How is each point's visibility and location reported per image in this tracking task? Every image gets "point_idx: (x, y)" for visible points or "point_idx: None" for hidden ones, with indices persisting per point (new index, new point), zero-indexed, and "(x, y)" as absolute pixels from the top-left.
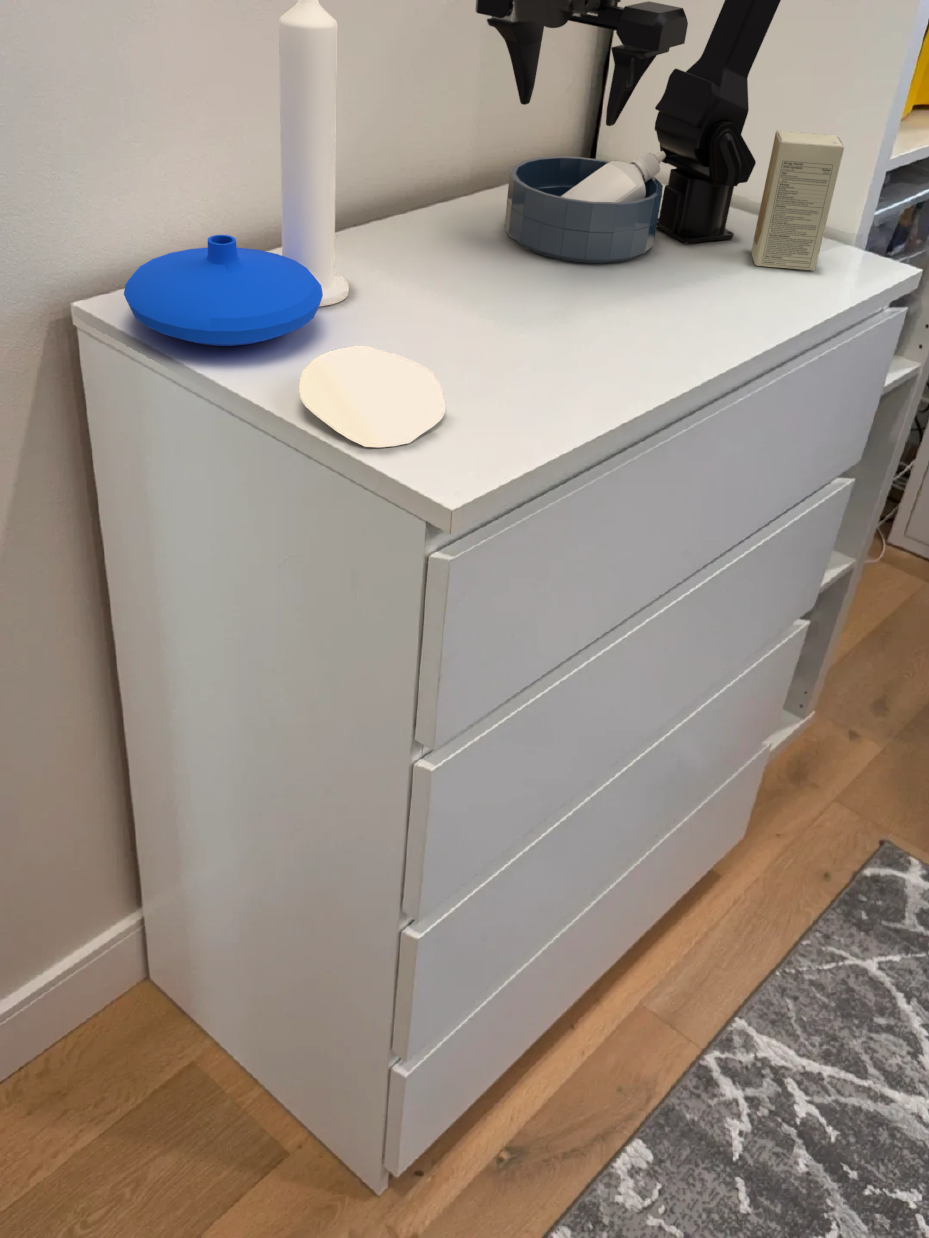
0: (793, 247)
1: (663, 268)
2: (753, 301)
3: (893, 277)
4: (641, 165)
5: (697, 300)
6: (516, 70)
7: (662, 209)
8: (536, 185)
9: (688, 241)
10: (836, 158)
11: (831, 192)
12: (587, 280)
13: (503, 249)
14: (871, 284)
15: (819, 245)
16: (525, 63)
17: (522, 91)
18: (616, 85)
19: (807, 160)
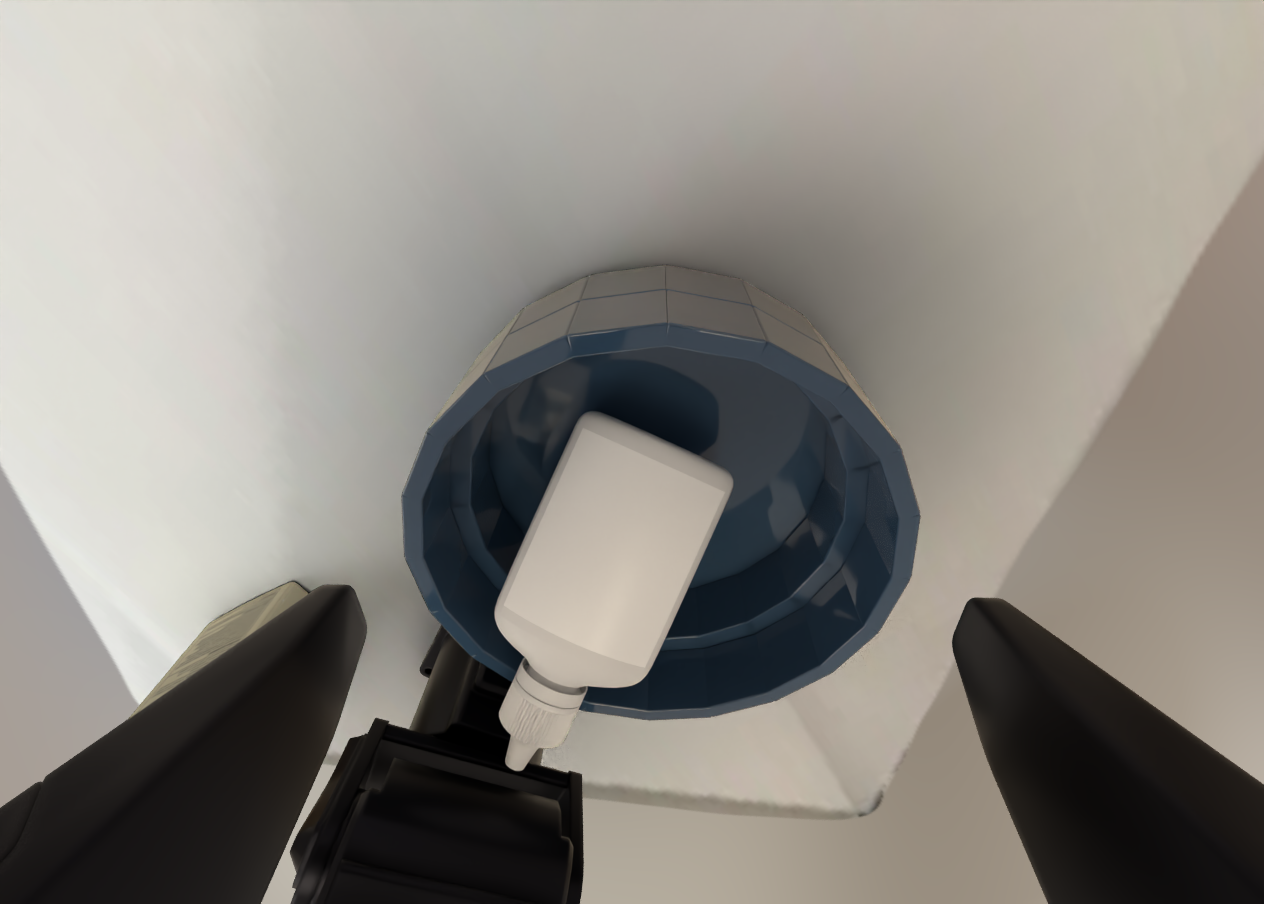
0: (214, 640)
1: (393, 439)
2: (125, 405)
3: (133, 683)
4: (532, 688)
5: (184, 309)
6: (1230, 789)
7: None
8: (845, 561)
9: None
10: None
11: None
12: (449, 203)
13: (778, 236)
14: (118, 637)
15: (172, 666)
16: (1190, 896)
17: (1036, 655)
18: (42, 826)
19: None
